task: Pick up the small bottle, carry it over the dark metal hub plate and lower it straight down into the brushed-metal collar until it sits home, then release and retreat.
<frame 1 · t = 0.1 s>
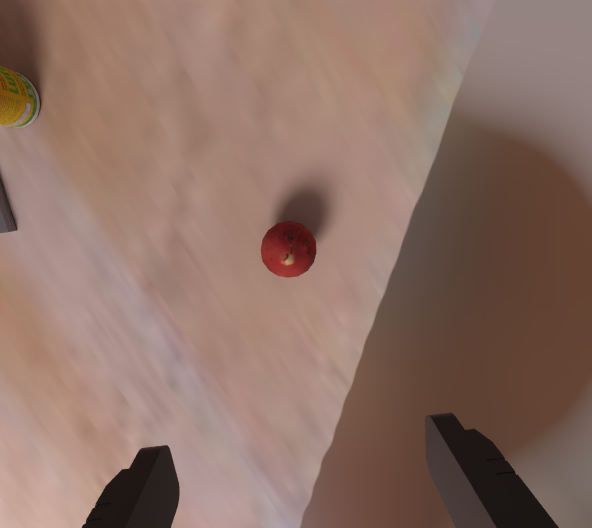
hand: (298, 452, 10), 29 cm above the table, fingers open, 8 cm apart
red fruit: (288, 242, 39), on the table
supplement bottle: (16, 100, 34), on the table
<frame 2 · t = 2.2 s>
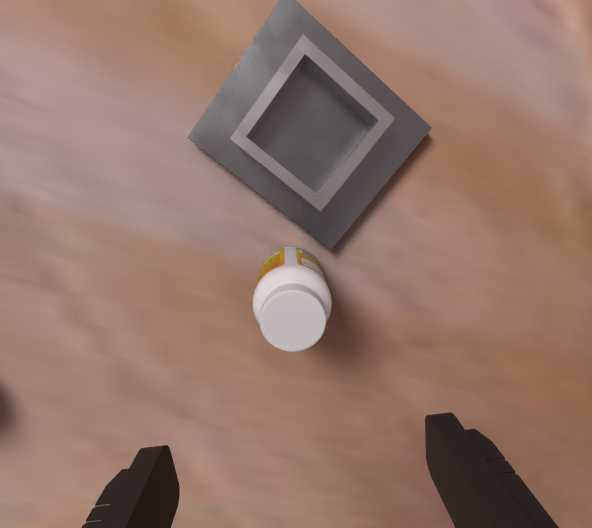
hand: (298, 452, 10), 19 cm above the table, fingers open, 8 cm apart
hub plate: (309, 134, 26), on the table
supplement bottle: (290, 275, 29), on the table
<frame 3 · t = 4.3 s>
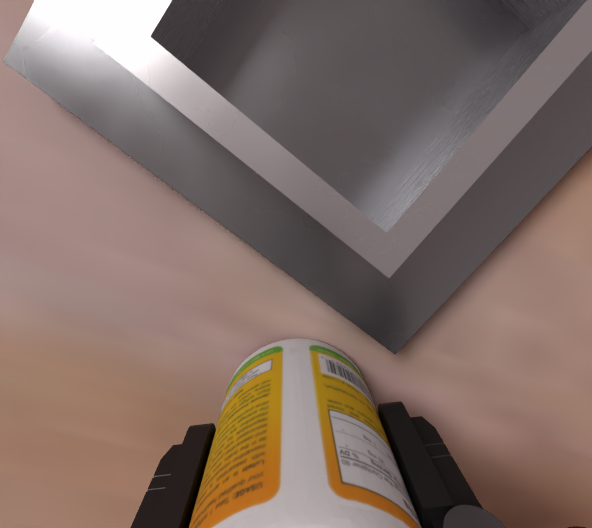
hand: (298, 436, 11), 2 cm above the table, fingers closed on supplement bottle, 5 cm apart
hub plate: (346, 63, 10), on the table
supplement bottle: (297, 394, 13), on the table, touching gripper
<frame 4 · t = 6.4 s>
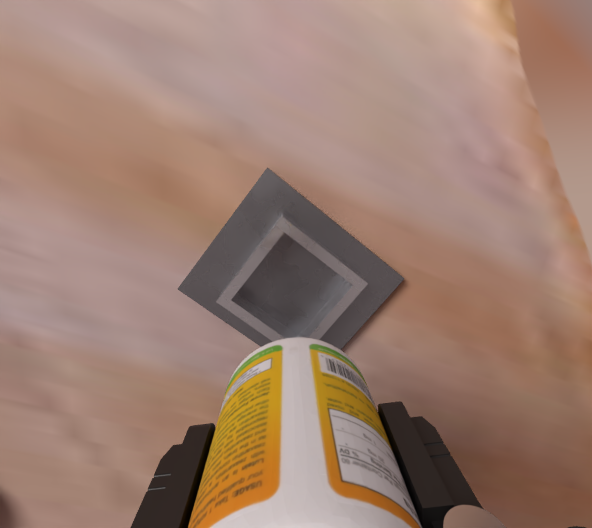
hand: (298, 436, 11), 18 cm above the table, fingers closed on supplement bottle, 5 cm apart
hub plate: (291, 279, 28), on the table
supplement bottle: (296, 393, 13), point 15 cm above the table, touching gripper
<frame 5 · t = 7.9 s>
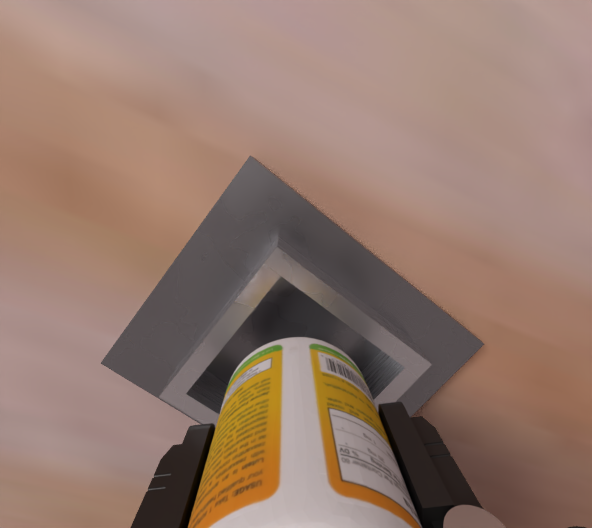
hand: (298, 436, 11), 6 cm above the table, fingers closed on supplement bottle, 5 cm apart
hub plate: (293, 341, 17), on the table
supplement bottle: (296, 392, 13), point 4 cm above the table, touching gripper
when the fingers open (4 cm above the table, at t = 8.7 s): supplement bottle drops 1 cm, resting on hub plate.
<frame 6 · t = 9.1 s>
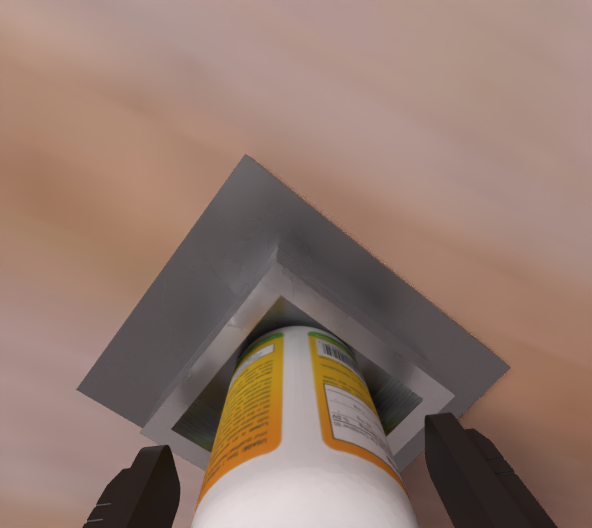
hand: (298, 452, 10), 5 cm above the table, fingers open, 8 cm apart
hub plate: (295, 363, 15), on the table
supplement bottle: (296, 377, 14), point 1 cm above the table, touching hub plate
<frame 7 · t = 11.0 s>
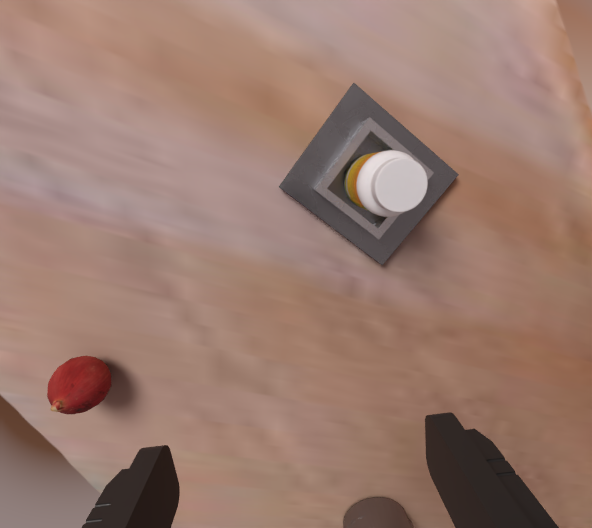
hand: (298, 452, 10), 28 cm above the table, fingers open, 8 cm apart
red fruit: (100, 363, 40), on the table
hub plate: (366, 180, 35), on the table
supplement bottle: (369, 181, 34), point 1 cm above the table, touching hub plate
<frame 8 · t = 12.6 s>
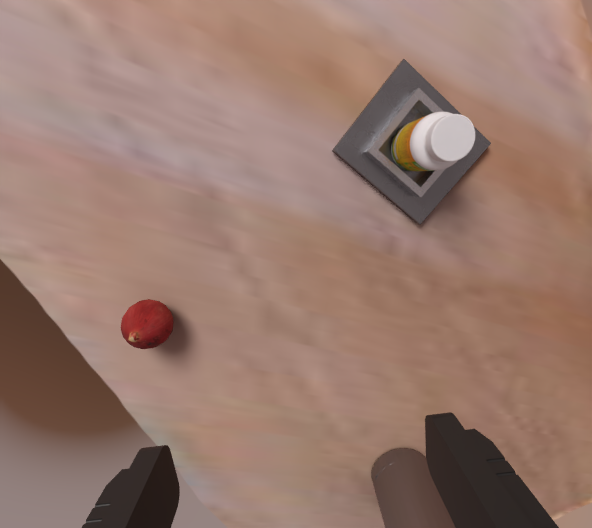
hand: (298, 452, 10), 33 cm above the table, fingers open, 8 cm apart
red fruit: (159, 311, 44), on the table
hub plate: (408, 147, 40), on the table
supplement bottle: (412, 147, 39), point 1 cm above the table, touching hub plate
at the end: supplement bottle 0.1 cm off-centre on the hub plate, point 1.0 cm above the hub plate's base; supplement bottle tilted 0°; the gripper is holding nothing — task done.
